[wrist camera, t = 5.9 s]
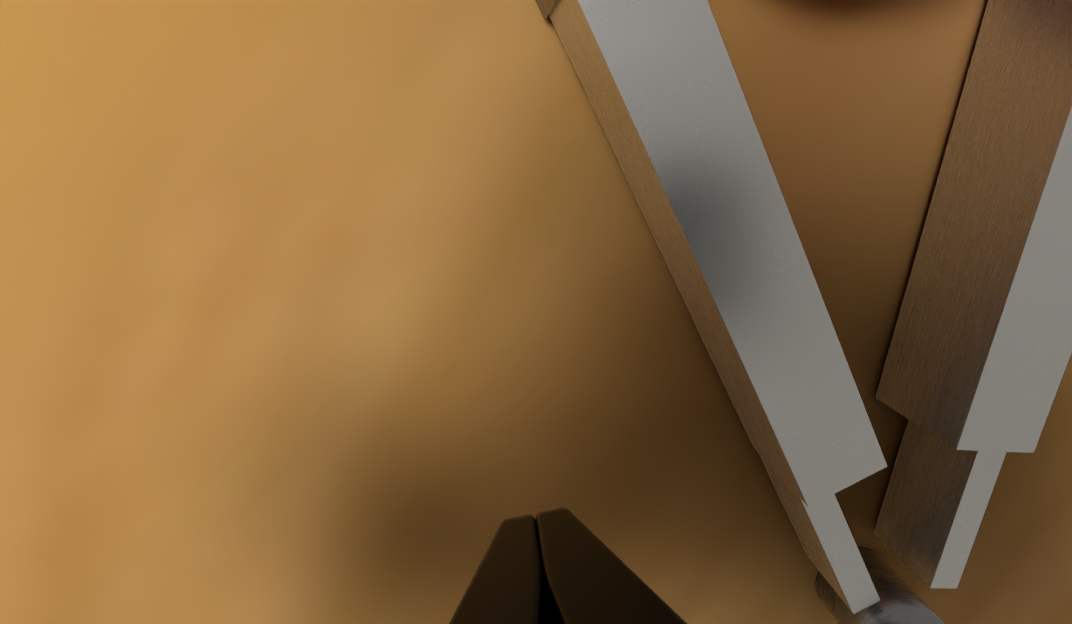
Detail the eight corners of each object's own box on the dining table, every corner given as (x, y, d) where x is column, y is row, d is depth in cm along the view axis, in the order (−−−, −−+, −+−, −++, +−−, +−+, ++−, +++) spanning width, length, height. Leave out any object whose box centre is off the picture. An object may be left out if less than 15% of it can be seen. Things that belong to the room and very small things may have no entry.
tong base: (873, 607, 16) (953, 700, 14) (808, 607, 16) (876, 702, 13) (1185, -372, 10) (1440, -556, 8) (1088, -396, 10) (1315, -595, 7)
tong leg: (868, 523, 15) (949, 601, 13) (801, 558, 15) (867, 641, 13) (527, -299, 10) (545, -462, 7) (422, -237, 10) (403, -373, 7)
